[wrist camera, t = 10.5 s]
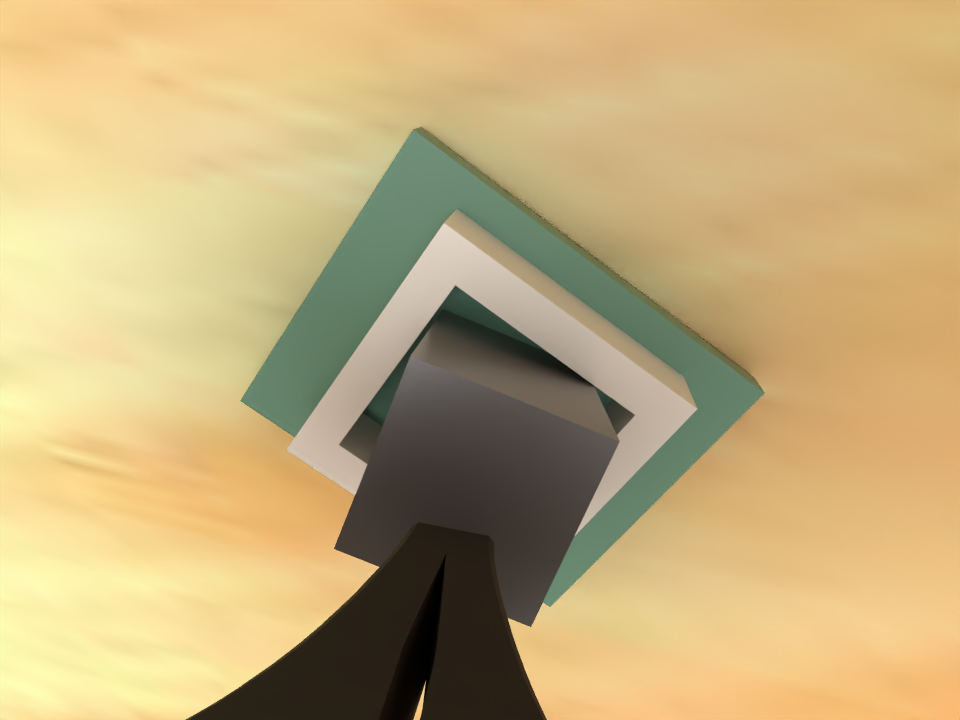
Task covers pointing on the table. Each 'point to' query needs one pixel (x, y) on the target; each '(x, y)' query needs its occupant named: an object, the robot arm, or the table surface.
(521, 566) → the plug
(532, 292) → the frame
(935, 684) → the table surface
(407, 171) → the board
